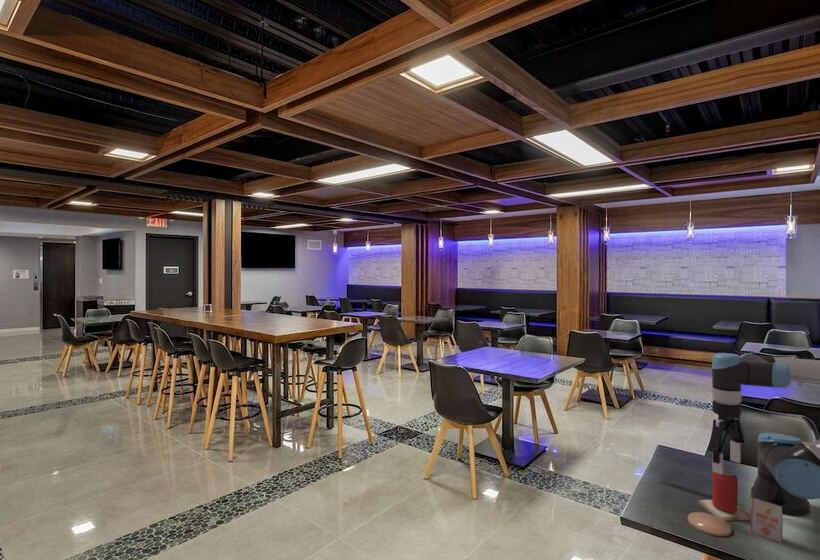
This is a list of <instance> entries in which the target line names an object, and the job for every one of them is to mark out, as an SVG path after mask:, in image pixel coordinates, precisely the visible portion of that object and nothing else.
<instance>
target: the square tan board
mask: <svg viewBox="0 0 820 560" xmlns="http://www.w3.org/2000/svg"><path fill="white" fill-rule="evenodd" d="M698 504H699V505H700V506H701V507H703V508H704V509H705V510H707V512H709V513H711V515H714V516H717V517H719V518H721V519H723V520H725V521H726V522H727V521H728V522H730V521H749V520H750V521H751V513H749V512H748V511H746V510H744V508H742V507H740V506H738V505H737V511H735V512H725V511H722V510H719V509H717V508H716V507H715V506H714V505H713V503H712V499H699V500H698Z"/></svg>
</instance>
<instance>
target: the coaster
mask: <svg viewBox="0 0 820 560" xmlns="http://www.w3.org/2000/svg"><path fill="white" fill-rule="evenodd" d="M687 522H688V524H689V525H690V526H691V527H693V528H694V529H696V530H697V531H699V532H701V533H703V534H707V535H711V536H714V537H728V536H730V535H731V534H732V531H733V529H732V526H731V525H730V523H729V522H727V521H725V520H723V519H721V518H719V517H717V516H715V515H714V514H712V513H711V514H710V513H707V512H701V511H699V512H697V511H696V512H695V511H694V512H690V513H689V514H688V515H687Z"/></svg>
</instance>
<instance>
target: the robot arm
mask: <svg viewBox="0 0 820 560" xmlns="http://www.w3.org/2000/svg"><path fill="white" fill-rule="evenodd" d="M711 374H712V377H711V379H712V380H711V381H712V382H711V383H712V388H711V389H710V392H712V399H713V400H712V403H711V405H712V408H711V409H712V410H711V411H712V412H713V413H714V414H716V415H717V419H713V421H712V428H711V429H712V430H711V435H710V438H709V439H710V441H709V444H708V451H710V452H711V471H712V472H713V473H714V472H716V473H719V474H723V468H724V453H723V448H724V445H725V441H726V439H727V436H728V435H729V437H730V439H731V440H730V441H729V443H730V444H729V447H730V449H729V450H730V451H729V453H730V454H729V455H730V459H729V460H730V462H735V463H738V464H742V462H741V461H742V444H744V443H745V439H744V438H745V436H744V432H743V427H742V423H741V420H740V419H741V418H740V416H742V405H741V403H742V386H743V385H744V386H752V387H753V386H754V387H766V388H774V389H778V388H780V389H781V388H783V389H786V388H788V387H789V386H790V385H791V382H797V383H807V384H817V385H818V384H820V359H818V360H817V359H808V358H807V359H806V358H805V359H804V358H796V357H795V358H793V357H780V356H767V355H758V354H755V353H750V352H749V353H748V352H747V353H743V354H741V355H739V354H736V353H731V352H728V353H727V352H717V353H714V354H713V355H712V363H711ZM757 438H758V439H757V476H756V478H755V481H754V484H753V486H751V489H750V498H751V499H752V498H756V499H759V500H762V501H765V502H768V503H771V504H775V505H778V506H781V507H782V515H788V516H793V517H795V516H798V517H799V516H800V517H801V516H807V515H810V513H811V503H810V501H809V500H817V499H820V438H819V439H817V440H815V441H814V442H806V441H804V440H803V439H801V438H799V437H796V436H792V435H789V434H788V435H787V434H782V433H775V432H761V433H760V434H758V437H757Z"/></svg>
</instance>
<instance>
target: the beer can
mask: <svg viewBox="0 0 820 560" xmlns="http://www.w3.org/2000/svg"><path fill="white" fill-rule="evenodd" d="M738 483H739V480H738V476H737V474H736V472H735V471H733V470H732V469H730V468H726V467H723V474H719V473H716V472H713V473H712V494H711V495H712V497H711V500H712V503H713V505H714V506H715V507H716V508H717V509H719V510H722V511H725V512H735V511H737V506H738V490H739V489H738V488H739V487H738V485H739V484H738Z"/></svg>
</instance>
